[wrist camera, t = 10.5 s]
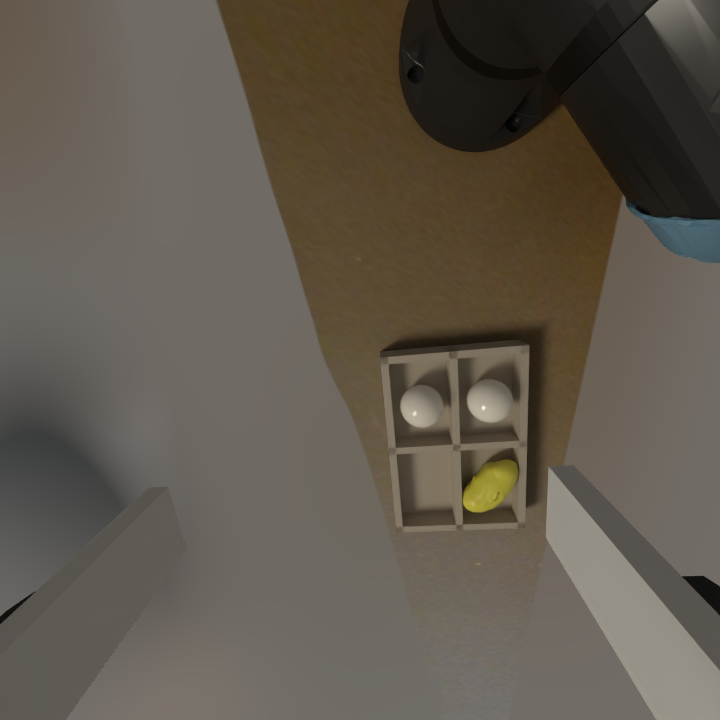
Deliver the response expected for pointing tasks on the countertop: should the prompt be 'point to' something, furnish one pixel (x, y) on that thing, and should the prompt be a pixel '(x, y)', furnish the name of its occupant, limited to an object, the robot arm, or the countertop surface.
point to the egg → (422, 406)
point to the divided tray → (454, 435)
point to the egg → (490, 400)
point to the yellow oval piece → (490, 486)
